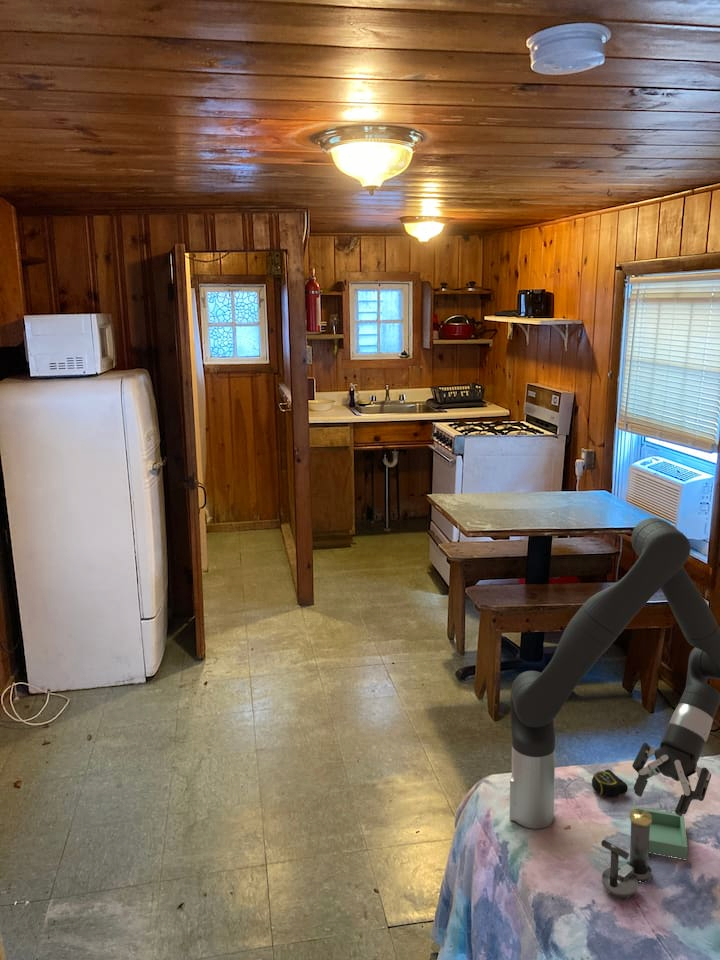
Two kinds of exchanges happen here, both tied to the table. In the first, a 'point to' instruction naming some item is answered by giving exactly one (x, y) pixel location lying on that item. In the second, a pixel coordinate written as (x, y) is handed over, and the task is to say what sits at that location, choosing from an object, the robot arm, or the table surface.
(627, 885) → the t-handle
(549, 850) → the table surface
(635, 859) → the pin
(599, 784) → the tape measure
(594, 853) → the table surface
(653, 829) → the tray
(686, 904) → the table surface
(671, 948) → the table surface
